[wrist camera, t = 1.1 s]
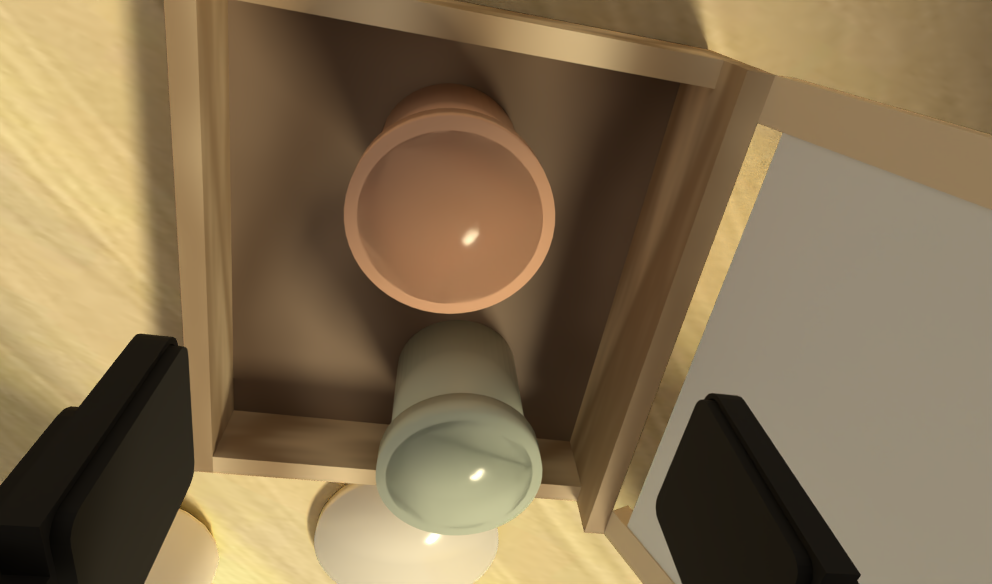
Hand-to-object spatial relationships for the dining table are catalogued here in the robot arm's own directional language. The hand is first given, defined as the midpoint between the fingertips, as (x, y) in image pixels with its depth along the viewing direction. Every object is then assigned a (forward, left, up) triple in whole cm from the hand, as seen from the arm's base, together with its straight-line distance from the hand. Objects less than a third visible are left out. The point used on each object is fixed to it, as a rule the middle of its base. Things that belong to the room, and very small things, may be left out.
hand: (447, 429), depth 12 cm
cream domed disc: (-1, +24, -18) cm, 30 cm away
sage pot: (-2, +11, -18) cm, 21 cm away
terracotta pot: (0, 0, -17) cm, 17 cm away
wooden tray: (0, +5, -18) cm, 19 cm away
